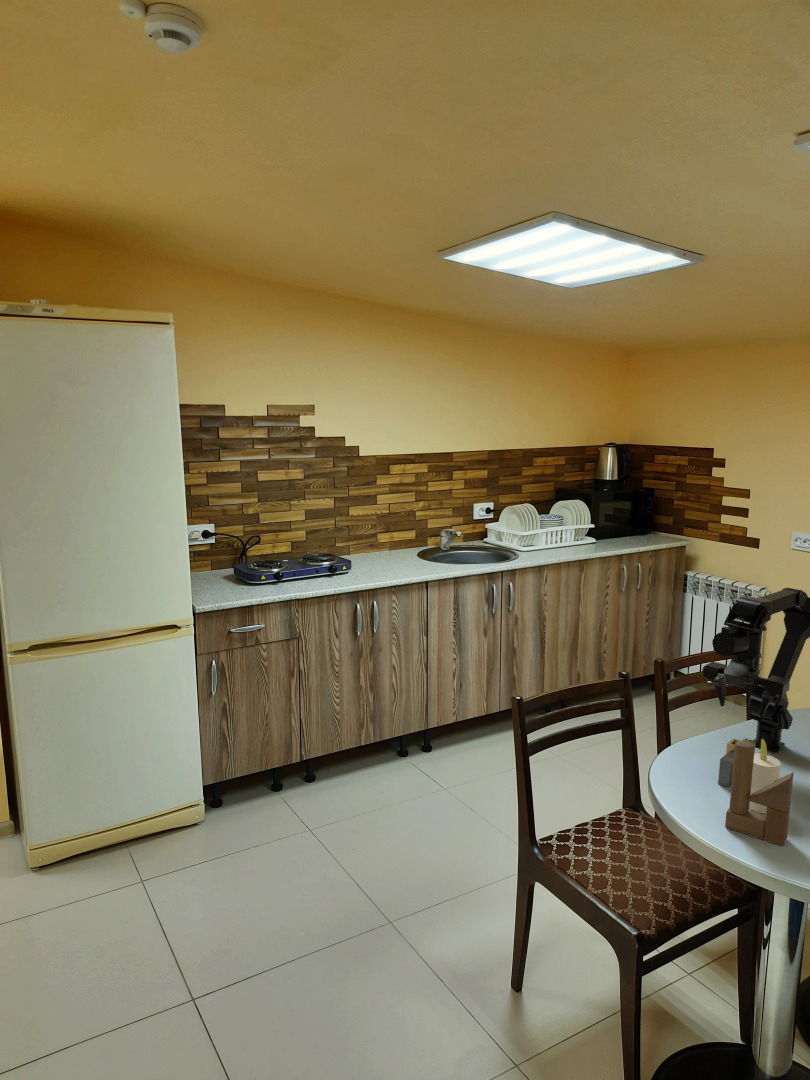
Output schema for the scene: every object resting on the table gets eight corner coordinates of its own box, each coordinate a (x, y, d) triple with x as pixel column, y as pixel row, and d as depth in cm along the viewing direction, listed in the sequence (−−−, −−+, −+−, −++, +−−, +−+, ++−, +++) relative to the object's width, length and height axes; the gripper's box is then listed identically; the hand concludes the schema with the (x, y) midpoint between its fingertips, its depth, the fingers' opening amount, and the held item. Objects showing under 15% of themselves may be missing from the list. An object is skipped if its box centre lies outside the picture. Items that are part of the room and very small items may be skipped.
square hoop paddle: (739, 760, 176) (742, 731, 175) (756, 765, 173) (759, 736, 172) (724, 773, 169) (727, 743, 168) (742, 779, 166) (744, 748, 165)
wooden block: (783, 847, 139) (792, 760, 136) (724, 827, 146) (732, 744, 143) (787, 839, 142) (796, 753, 139) (729, 820, 148) (736, 738, 146)
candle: (765, 816, 150) (772, 749, 148) (737, 802, 156) (743, 737, 153) (783, 809, 153) (789, 743, 151) (754, 795, 159) (761, 731, 157)
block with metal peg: (731, 767, 172) (733, 738, 171) (748, 773, 169) (751, 743, 168) (714, 782, 164) (717, 751, 163) (732, 788, 162) (735, 757, 161)
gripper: (695, 648, 174) (690, 709, 176) (778, 666, 161) (771, 732, 164) (713, 639, 182) (708, 698, 184) (793, 656, 169) (786, 718, 172)
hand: (741, 711), depth 176 cm, fingers open, 9 cm apart
